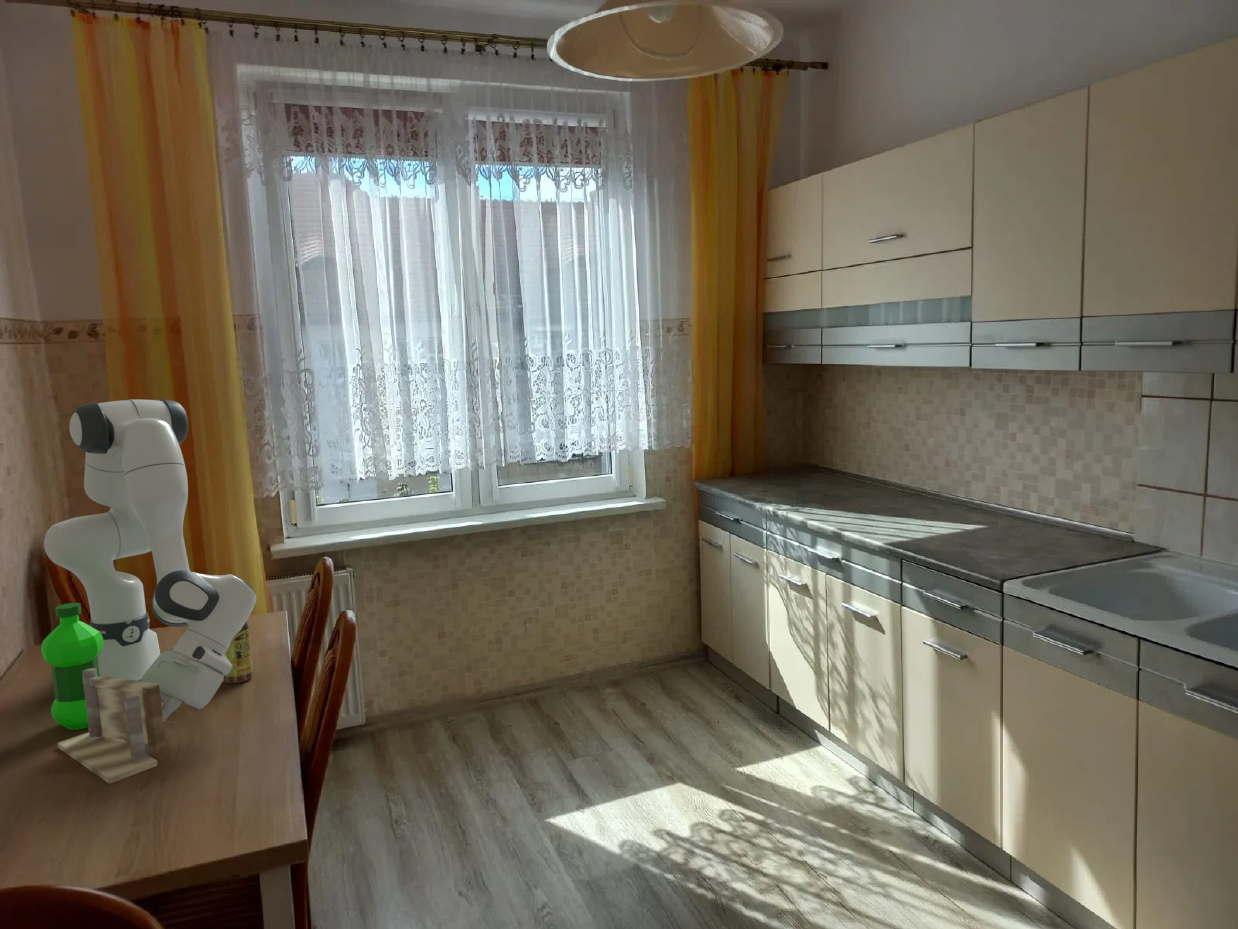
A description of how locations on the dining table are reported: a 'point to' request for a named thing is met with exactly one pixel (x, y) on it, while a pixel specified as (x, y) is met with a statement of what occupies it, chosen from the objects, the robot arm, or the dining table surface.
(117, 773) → the wooden stand
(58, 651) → the plastic bottle
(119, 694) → the gate
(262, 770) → the dining table surface
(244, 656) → the sauce bottle
